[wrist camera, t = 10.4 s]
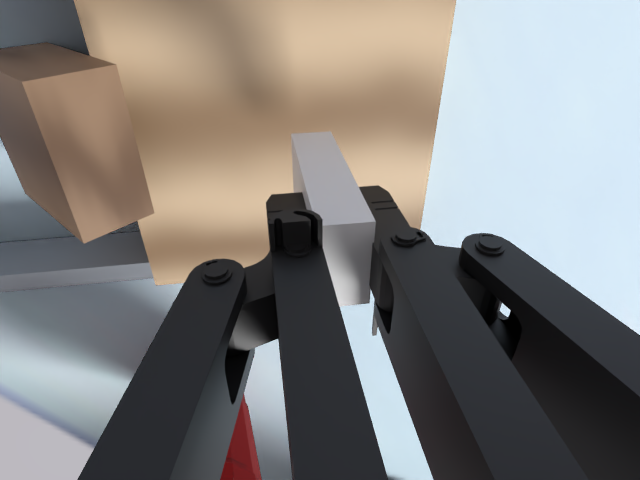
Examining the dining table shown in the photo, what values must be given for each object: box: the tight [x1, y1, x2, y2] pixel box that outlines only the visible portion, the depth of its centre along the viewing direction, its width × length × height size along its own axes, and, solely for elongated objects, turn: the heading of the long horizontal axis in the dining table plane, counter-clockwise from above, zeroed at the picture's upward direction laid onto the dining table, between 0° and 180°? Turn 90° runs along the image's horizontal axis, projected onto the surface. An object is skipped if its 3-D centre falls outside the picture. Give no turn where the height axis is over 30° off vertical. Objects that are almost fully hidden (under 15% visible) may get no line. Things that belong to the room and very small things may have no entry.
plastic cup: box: [220, 394, 262, 480], centre depth 26 cm, size 11×11×12 cm
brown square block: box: [0, 42, 154, 243], centre depth 17 cm, size 6×6×3 cm
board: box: [74, 0, 456, 285], centre depth 20 cm, size 16×14×3 cm
